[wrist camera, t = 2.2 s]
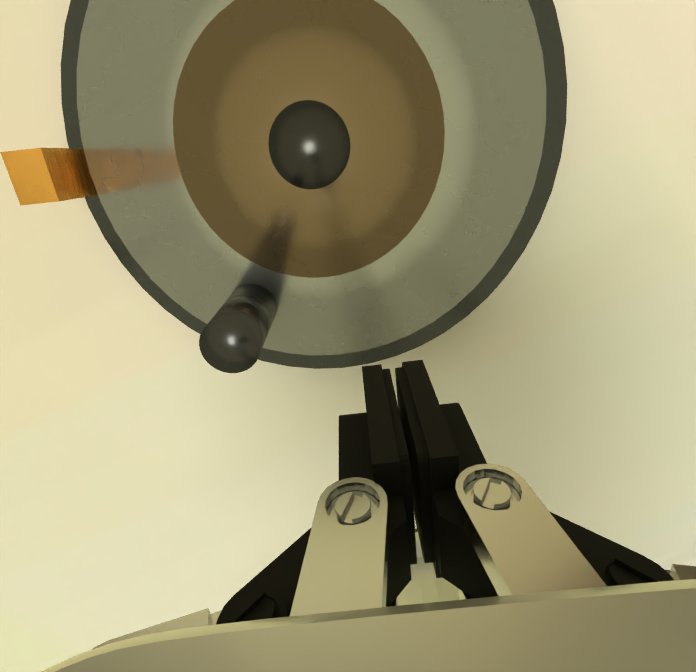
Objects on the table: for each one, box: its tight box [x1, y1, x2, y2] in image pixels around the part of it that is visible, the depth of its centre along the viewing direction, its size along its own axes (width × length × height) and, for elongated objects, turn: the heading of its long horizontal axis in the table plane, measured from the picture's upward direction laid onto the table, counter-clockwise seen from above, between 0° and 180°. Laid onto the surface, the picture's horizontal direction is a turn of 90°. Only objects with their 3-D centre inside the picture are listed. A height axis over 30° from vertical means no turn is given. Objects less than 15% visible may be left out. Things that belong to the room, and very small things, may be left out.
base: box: [1, 0, 567, 368], centre depth 19 cm, size 24×24×6 cm
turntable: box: [77, 0, 546, 373], centre depth 17 cm, size 20×20×7 cm
